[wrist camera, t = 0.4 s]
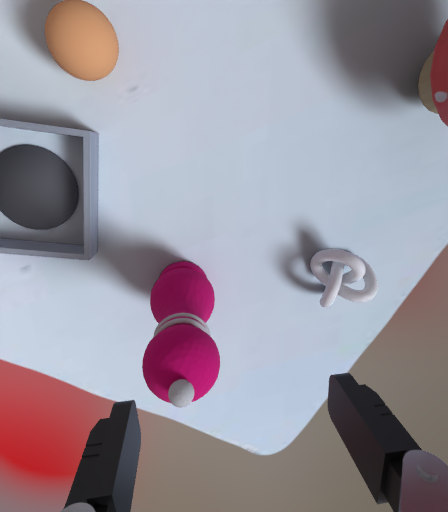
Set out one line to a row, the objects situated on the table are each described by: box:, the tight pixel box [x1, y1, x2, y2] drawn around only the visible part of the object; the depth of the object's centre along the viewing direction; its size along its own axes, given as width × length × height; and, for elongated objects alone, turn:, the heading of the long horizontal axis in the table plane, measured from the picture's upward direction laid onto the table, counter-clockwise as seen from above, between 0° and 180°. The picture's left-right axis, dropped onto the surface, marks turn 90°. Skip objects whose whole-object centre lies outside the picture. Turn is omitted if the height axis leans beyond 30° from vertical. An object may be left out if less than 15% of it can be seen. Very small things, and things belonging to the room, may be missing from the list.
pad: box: [0, 145, 78, 230], centre depth 34 cm, size 9×9×1 cm
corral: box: [0, 119, 99, 260], centre depth 32 cm, size 13×13×3 cm
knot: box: [310, 249, 378, 308], centre depth 38 cm, size 8×8×6 cm
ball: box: [45, 0, 119, 81], centre depth 28 cm, size 6×6×6 cm
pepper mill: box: [142, 261, 220, 408], centre depth 30 cm, size 7×7×20 cm
